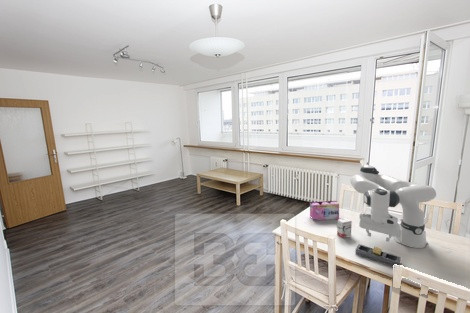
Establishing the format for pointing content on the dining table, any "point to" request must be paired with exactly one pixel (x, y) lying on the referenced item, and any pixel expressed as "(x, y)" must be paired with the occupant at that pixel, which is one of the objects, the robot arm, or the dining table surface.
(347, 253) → the dining table surface
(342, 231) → the ink box
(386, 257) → the grey compartment tray
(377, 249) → the brushed brass bar
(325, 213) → the gum box
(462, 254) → the dining table surface
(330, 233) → the dining table surface
